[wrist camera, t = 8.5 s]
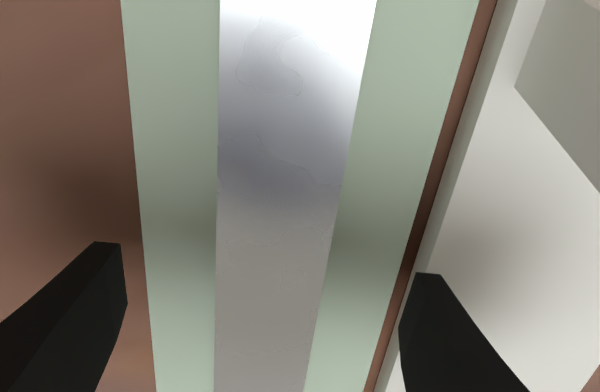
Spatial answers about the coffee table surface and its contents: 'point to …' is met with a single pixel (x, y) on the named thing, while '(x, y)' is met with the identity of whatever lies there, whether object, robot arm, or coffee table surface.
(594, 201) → the rack
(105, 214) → the coffee table surface
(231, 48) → the rail
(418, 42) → the mat
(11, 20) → the coffee table surface
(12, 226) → the coffee table surface
